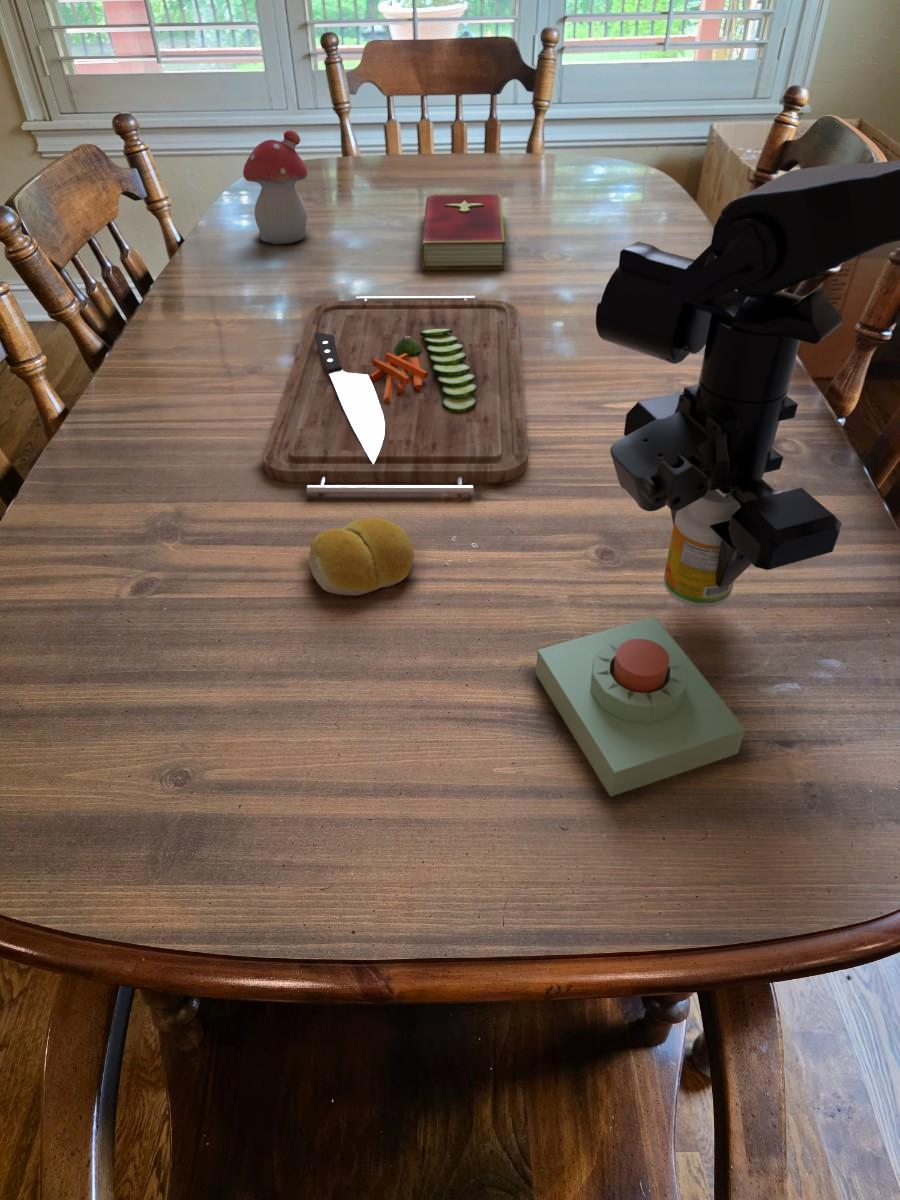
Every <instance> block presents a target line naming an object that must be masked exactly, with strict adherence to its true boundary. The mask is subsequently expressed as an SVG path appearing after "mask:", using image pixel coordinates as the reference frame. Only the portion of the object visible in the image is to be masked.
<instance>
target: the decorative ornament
mask: <svg viewBox="0 0 900 1200" xmlns="http://www.w3.org/2000/svg"><path fill="white" fill-rule="evenodd" d="M300 143H301V137H300V135H299V133H297V132H296V131H295V130H289V129H288V130H286V131H285V132H284V133H283V140H280V141H279V140H275V139H268V140H264V141H262V142H260V143H259V144H257V145H256V146H255V147H254V148H253V150H252V151H251V153H250V154H249V156H248V158H247V159H246V162H245V164H244V166H243V171H242V176H243V178H244V179H245V181H247V182H252V183H257V184H258V185H260V186H261V188H260V192H259V195H258V196H257V199H256V200H255V201H256V202H255V204H254V205H255V206H254V220H255V223H256V226H257V229H258V230H259V234H258V237H259V240H261V242H264V243H269V244H274V245H282V244H283V245H284V244H293V243H296V242H299V241H302V240H303V239H304V238H305V233H306V228H307V222H308V213H307V210H306V205H305V203H304V201H303V199H302V197H301V195H300V194H299V192H298V191H297V189H296V188H295V186H296V183H297V182H298V181H302V180H306V178H307V177H308V169H307V166H306V163H305V162H304V161H303V159H302V158H301V156H300V155H299V154H298V152H297V151H296V147H297V146H298V145H299V144H300Z"/></svg>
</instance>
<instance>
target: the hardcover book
mask: <svg viewBox="0 0 900 1200" xmlns="http://www.w3.org/2000/svg"><path fill="white" fill-rule="evenodd" d="M502 201H503V200H502V193H499V192H497V193H428V194H427V196H426V202H425V210H424V220H423V228H422V236H421V244H420V245H421V246H420V263H421V267H422V270H424V271H469V270H470V271H473V270H475V271H477V270H478V271H479V270H481V271H482V270H485V271H486V270H505V257H504V245H506V238H505V226H504V225H505V224H504V213H503V202H502Z"/></svg>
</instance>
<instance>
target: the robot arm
mask: <svg viewBox="0 0 900 1200" xmlns="http://www.w3.org/2000/svg"><path fill="white" fill-rule="evenodd" d="M895 242H900V159H895V160H890V161H881V162H844V163H837V164H829V165H821V166H814V167H806V168H797V169H793V170H788V171H787V172H785V173H783V174H781V175H779V176H777V177H776V178H773V179H771V180H770V181H767V182H766V183H764V184H762V185H760V186H759V187H756V188H754V189H753V190H751V191H749V192H747V193H745V194H743V195H742V196H739V197H737V198H736V199H734V200H732V201H730V202H728V204H726V206H725V207H724V208H722V209H721V211H720V214H719V216H718V218H717V220H716V223H715V225H714V226H713V232H712V237H711V243H710V244H709V245H708V246H707V248H706V249H704V250H703V251H702V252H701V254H699V255H698V256H697V257H696V258H695V259H694V258H690V257H686V256H683V255H679V254H675V253H671V252H668V251H664V250H662V249H660V248H658V247H656V246H655V245H652V244H649V243H645V242H641V241H636V242H634V243H633V244H630V245H628V246H626V247H625V248H622V250H620V252H619V259H618V266H617V268H616V269H615V270H614V271H613V273H612V274H611V276H610V277H609V280H608V282H607V283H606V285H605V288H604V291H603V292H602V296H601V300H600V301H599V302H598V304H597V305H596V311H595V327H596V332H597V334H598V337H599V338H600V339H602V340H603V341H605V342H608V343H611V344H614V345H617V346H620V347H622V348H626V349H628V350H632V351H635V352H638V353H640V354H643V355H646V356H650V357H652V358H655V359H658V360H661V361H664V362H667V363H670V364H679V363H681V362H682V361H684V360H685V359H686V358H687V357H688V356H689V355H690V354H694V355H695V354H698V353H699V352H700V351H702V350H703V348H704V352H703V357H702V363H701V368H700V372H699V377H698V383H697V384H695V385H689V386H685V387H684V388H683V391H681V392H676V393H672V394H667V395H663V396H657V397H653V398H649V399H644V400H639V401H637V402H636V403H635V404H634V405H633V406H632V408H630V410H629V411H628V412H627V413H626V415H625V422H624V430H623V435H624V437H622V438H620V439H618V440H616V441H615V442H614V443H613V444H612V445H611V447H610V452H609V453H610V456H611V459H612V463H613V466H614V470H615V473H616V477H617V480H618V485H619V486H620V487H621V488H622V489H623V490H625V491H626V492H627V493H628V494H629V495H630V497H631V498H632V499H633V500H634V501H635V503H636V504H637V505H638V507H639V508H640V509H641V510H643V511H646V512H656V511H658V510H661V509H662V508H664V507H668V508H669V509H670V515H671V519H672V527H673V526H674V521H675V516H676V512H677V511H678V510H680V509H682V508H684V507H686V506H688V505H689V504H691V503H693V502H695V501H697V500H698V499H700V498H702V497H704V496H705V494H706V493H707V491H708V490H709V491H713V490H716V491H717V492H718V493H719V494H720V495H721V496H722V497H725V498H726V497H731V496H732V497H733V498H734V499H735V500H736V501H737V502H738V503H739V504H740V505H739V508H738V510H737V511H736V512H735V513H734V514H733V515H732V516H731V520H728V521H724V522H721V523H717V524H713V525H710V528H711V529H712V530H713V531H714V532H715V533H716V534H717V535H718V536H719V537H720V538H721V539H722V541H721V547H720V553H719V559H718V565H717V572H716V585H717V586H718V587H724V586H728V585H730V584H731V583H732V582H733V581H734V580H735V581H736V580H737V579H738V577H740V576H741V575H742V574H743V573H744V572H745V571H746V570H747V569H748V568H749V567H750V566H751V565H753V566H754V567H755V568H758V569H762V570H766V571H770V570H774V569H777V568H781V567H784V566H788V565H791V564H794V563H799V562H801V561H805V560H808V559H812V558H817V557H819V556H823V555H826V554H831V553H833V552H834V549H835V546H836V544H837V540H838V538H839V536H840V535H839V534H840V532H841V528H842V524H843V523H842V522H841V521H840V519H838V518H837V517H836V515H835V514H833V513H832V512H831V511H830V510H829V509H828V508H827V507H825V506H824V505H823V504H822V503H820V502H819V501H818V500H817V499H816V498H814V496H812V495H811V494H810V493H809V492H808V491H807V490H805V489H804V488H803V487H798V488H795V489H791V490H782V489H775V488H774V487H772V486H771V485H770V484H769V483H767V481H765V479H763V478H764V474H766V473H770V472H774V471H778V470H781V468H782V464H783V460H784V456H783V455H782V454H781V453H780V452H778V451H777V450H776V449H774V448H773V447H774V444H775V443H774V442H775V439H776V436H777V432H778V427H779V424H780V422H782V421H785V420H790V419H794V418H795V417H796V414H797V411H798V406H799V403H797V402H796V401H794V400H793V399H792V398H790V397H789V396H787V394H788V391H789V387H790V383H791V380H792V379H791V378H792V375H793V371H794V367H795V365H796V364H795V363H796V360H797V356H798V352H799V349H800V345H801V342H804V343H808V344H811V345H818V344H819V343H820V342H821V341H823V340H824V339H825V338H827V337H828V336H829V335H831V333H833V332H834V331H835V330H837V328H839V327H840V326H841V325H843V323H844V316H843V315H842V313H840V311H839V310H838V308H837V307H836V306H835V305H834V304H833V303H832V302H831V301H830V300H829V299H828V297H827V294H826V290H825V288H824V287H821V286H818V287H817V288H815V289H814V290H812V291H811V292H810V293H808V294H806V295H799V294H794V293H790V292H787V291H785V290H786V289H788V288H790V287H793V286H795V285H798V284H801V283H803V282H805V281H807V280H809V279H812V278H814V277H816V276H819V275H821V274H823V273H825V272H827V271H829V270H832V269H834V268H835V267H838V266H839V265H842V264H844V263H846V262H849V261H850V260H852V259H854V258H856V257H859V256H860V255H862V254H865V253H867V252H869V251H871V250H874V249H877V248H879V247H881V246H883V245H887V244H892V243H895ZM735 581H734V582H735Z"/></svg>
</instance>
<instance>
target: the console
mask: <svg viewBox="0 0 900 1200" xmlns="http://www.w3.org/2000/svg"><path fill="white" fill-rule="evenodd" d="M632 639H646V640H650V641H653V642H655V643H657V644H659V645H660V646H662V647H663V648H664V649H665V651H666V652H667V654H668V656H669V665H668V670H667V674H666V679H665V682H664V684H663V685H662V686H661V687H660V688H659V689H658V690H656V691H653V692H650V693H639V692H632V691H630V690H628V689H626V688H624V687H622V686H621V685H620V684H619V683H618V682H617V681H616V679H615V677H614V673H613V670H614V664H615V657H616V652H617V649H618V647H619V646H620V645H621V644H622V643H624V642H626V641H628V640H632ZM536 654H537V655H536V666H535V667H536V668H535V675H536V677H537V679H538V680H539V682H540V684H541V685H542V687H543V688H544V690H545V692H546V694H547V695H548V697H549V698H550V700H551V702H552V703H553V705H554V707H555V708H556V710H557V711H558V714H559V715H560V716H561V718H562V720H563V722H564V724H565V725H566V726H567V728H568V730H569V731H570V733H571V735H572V736H573V738H574V740H575V742H576V743H577V744H578V746H579V748H580V750H581V751H582V753H583V755H584V756H585V758H586V759H587V761H588V763H589V764H590V766H591V767H592V769H593V771H594V773H595V774H596V776H597V777H598V779H599V781H600V783H601V785H602V786H603V787H604V789H605V791H606V792H607V794H608V796H609V797H611V798H612V797H614V796H618V795H621V794H623V793H626V792H628V791H632V790H635V789H638V788H641V787H643V786H647V785H649V784H652V783H656V782H659V781H662V780H664V779H668V778H670V777H673V776H676V775H679V774H682V773H685V772H688V771H691V770H695V769H697V768H701V767H703V766H706V765H709V764H712V763H715V762H718V761H720V760H721V761H722V760H724V759H726V758H730V757H732V756H735V755H738V754H739V751H740V748H741V745H742V742H743V739H744V737H745V736H744V735H745V733H746V727H744V725H743V724H742V723H741V722H740V720H739V719H738V718H737V717H736V715H735V714H734V713H733V711H732V710H731V709H730V708H729V706H728V705H727V704H726V703H725V701H723V699H722V698H721V697H720V695H719V694H718V693H717V691H715V689H714V688H713V687H712V685H711V684H710V683H709V682H708V680H707V679H706V678H705V677H704V675H703V674H702V673H701V672H700V671H699V668H697V667H696V666H695V664H694V663H693V662H692V660H691V659H690V658H689V656H688V655H686V653H685V651H683V649H682V648H681V647H680V645H679V644H678V643H677V641H675V639H674V638H673V637H672V635H671V634H670V633H669V632H668V631H667V629H666V628H665V627H664V626H663V623H661V622H660V621H659V619H658V618H657V617H656V616H651V617H648V618H644V619H641V620H638V621H633V622H631V623H628V624H624V625H620V626H616V627H613V628H609V629H606V630H603V631H599V632H595V633H591V634H588V635H585V636H581V637H577V638H574V639H570V640H567V641H564V642H561V643H557V644H553V645H550V646H546V647H543V648H539V649H537V652H536Z"/></svg>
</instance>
